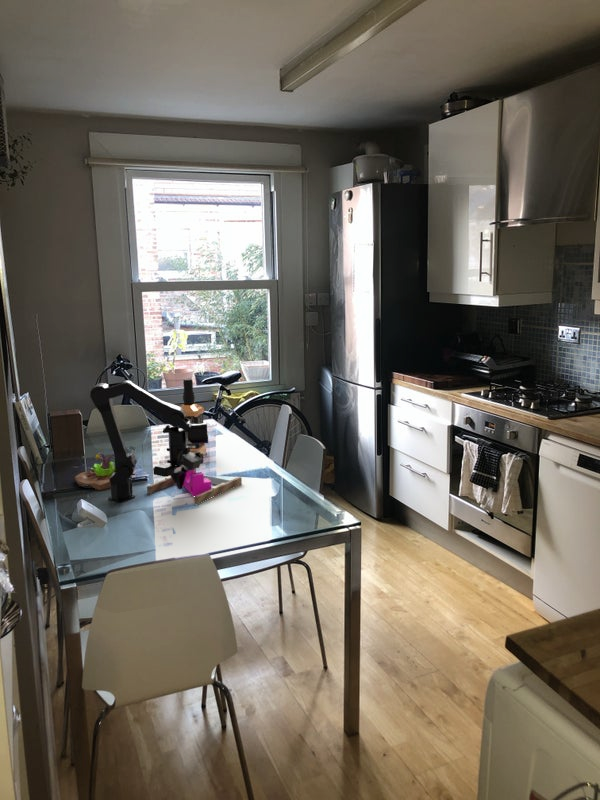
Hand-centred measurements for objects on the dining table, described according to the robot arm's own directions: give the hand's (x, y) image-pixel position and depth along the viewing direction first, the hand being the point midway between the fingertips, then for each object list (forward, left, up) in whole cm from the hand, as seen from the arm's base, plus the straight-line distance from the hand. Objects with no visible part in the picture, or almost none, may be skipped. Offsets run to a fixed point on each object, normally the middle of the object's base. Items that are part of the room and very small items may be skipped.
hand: (180, 489), depth 219 cm
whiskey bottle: (+39, +29, -2) cm, 49 cm away
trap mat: (+17, 0, -2) cm, 17 cm away
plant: (-1, +35, -3) cm, 36 cm away
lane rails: (+8, 0, -2) cm, 8 cm away
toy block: (+8, -1, -2) cm, 8 cm away
